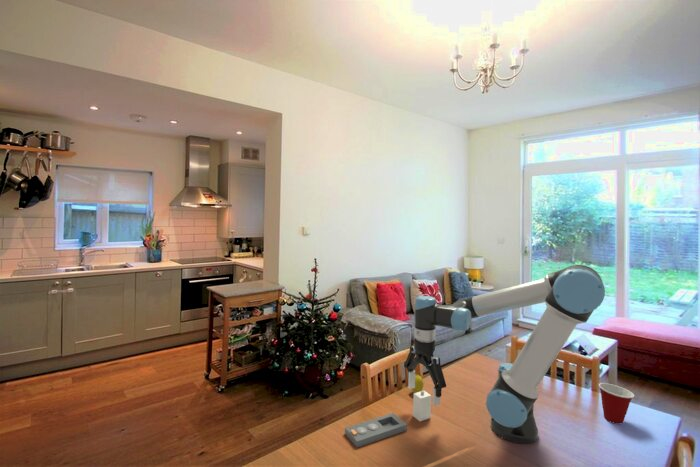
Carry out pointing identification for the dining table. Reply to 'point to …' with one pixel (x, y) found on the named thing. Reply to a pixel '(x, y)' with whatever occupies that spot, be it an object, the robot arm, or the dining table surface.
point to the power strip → (375, 429)
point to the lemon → (418, 384)
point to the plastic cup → (615, 402)
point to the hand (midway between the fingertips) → (423, 396)
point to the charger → (422, 405)
